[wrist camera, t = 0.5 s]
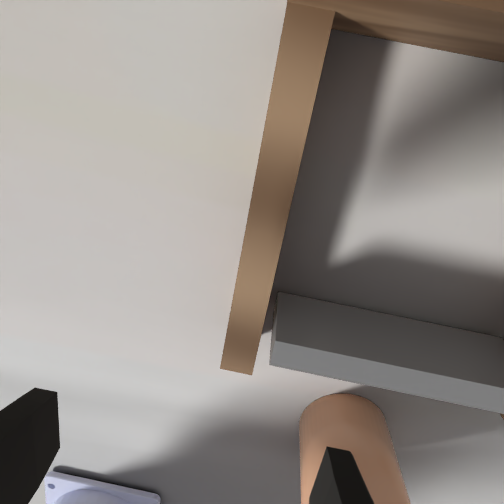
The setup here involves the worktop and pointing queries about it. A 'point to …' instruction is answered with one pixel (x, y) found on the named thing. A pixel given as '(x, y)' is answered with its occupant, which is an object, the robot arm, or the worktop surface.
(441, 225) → the worktop surface
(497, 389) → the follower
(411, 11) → the brown wooden frame
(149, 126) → the worktop surface
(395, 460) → the jar
